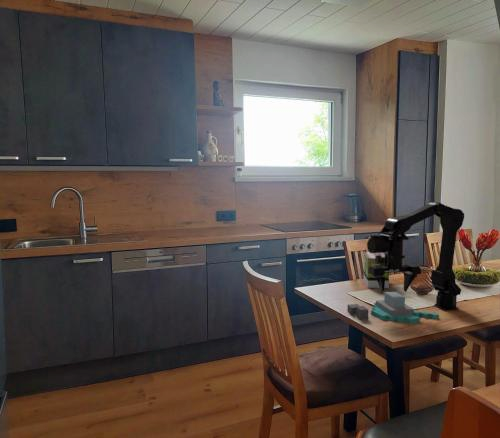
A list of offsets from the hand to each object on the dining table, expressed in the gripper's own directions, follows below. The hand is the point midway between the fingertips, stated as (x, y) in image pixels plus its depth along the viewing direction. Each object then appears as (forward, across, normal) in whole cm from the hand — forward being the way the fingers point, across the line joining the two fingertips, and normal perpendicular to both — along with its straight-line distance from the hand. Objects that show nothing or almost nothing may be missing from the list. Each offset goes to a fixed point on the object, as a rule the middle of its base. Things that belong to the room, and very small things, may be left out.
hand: (393, 292), depth 150 cm
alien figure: (+9, -2, 0) cm, 10 cm away
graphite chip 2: (+7, +12, +2) cm, 14 cm away
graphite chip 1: (+9, +14, -3) cm, 17 cm away
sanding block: (+7, 0, 0) cm, 7 cm away
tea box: (+9, -12, -41) cm, 43 cm away
